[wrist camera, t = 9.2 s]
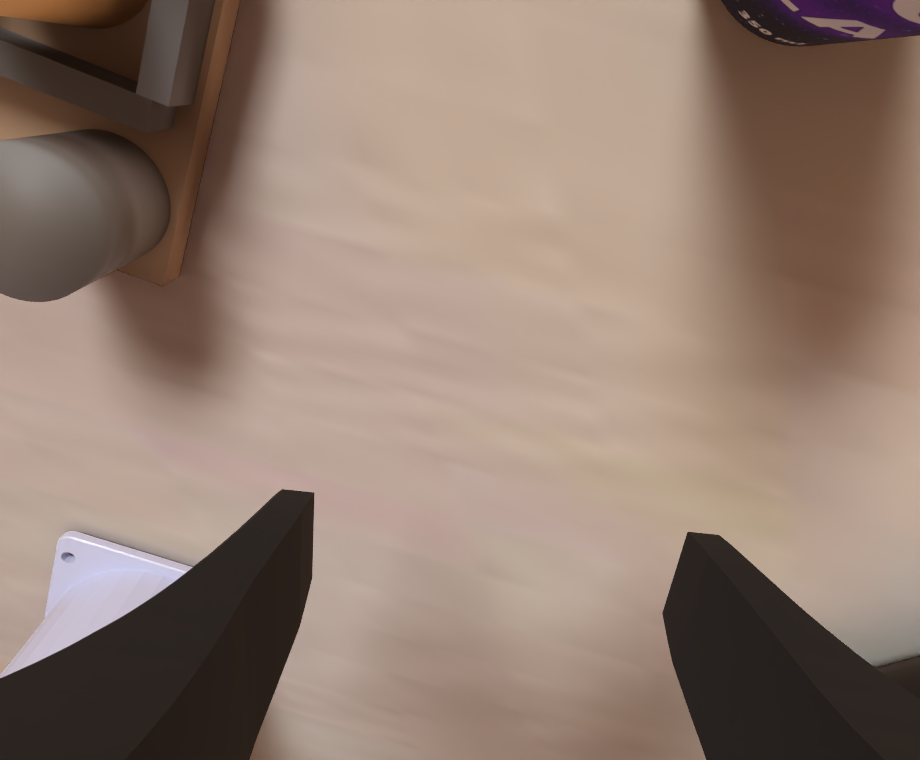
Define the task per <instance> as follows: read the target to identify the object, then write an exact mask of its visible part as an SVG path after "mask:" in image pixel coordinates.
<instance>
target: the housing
mask: <svg viewBox="0 0 920 760" xmlns="http://www.w3.org/2000/svg"><path fill="white" fill-rule="evenodd" d="M239 3H240V0H148V1H147V2H146V4H145V5H144V7H143V8H142V9H141V10H140V11H139V12H138V13H137V14H136V15H135V16H134V17H133V18H131V19H130V20H129V21H127V22H125V23H123V24H121V25H118V26H114V27H110V28H88V27H80V26H73V25H65V24H57V23H50V22H42V21H35V20H27V19H20V18H12V17H4V16H0V293H1V294H4V295H6V296H9V297H12V298H15V299H19V300H24V301H31V302H45V301H52V300H57V299H60V298H63V297H65V296H67V295H69V294H71V293H73V292H75V291H77V290H79V289H81V288H82V287H84V286H86V285H88V284H90V283H92V282H94V281H96V280H97V279H99V278H101V277H103V276H105V275H107V274H109V273H111V272H112V271H114V270H118V271H121V272H124V273H127V274H129V275H132V276H135V277H138V278H140V279H143V280H146V281H149V282H151V283H154V284H157V285H160V286H162V287H163V286H165V285H166V284H168V283H169V282H171V281H172V280H174V279H175V278H177V277H178V276H179V274H180V270H181V265H182V261H183V256H184V252H185V247H186V243H187V238H188V234H189V229H190V225H191V220H192V216H193V211H194V207H195V202H196V198H197V193H198V189H199V184H200V180H201V175H202V171H203V166H204V162H205V157H206V152H207V148H208V143H209V139H210V134H211V130H212V125H213V121H214V116H215V112H216V107H217V103H218V98H219V94H220V89H221V85H222V80H223V76H224V71H225V67H226V62H227V58H228V53H229V49H230V44H231V40H232V35H233V31H234V26H235V21H236V17H237V12H238V8H239Z"/></svg>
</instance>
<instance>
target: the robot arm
mask: <svg viewBox="0 0 920 760" xmlns="http://www.w3.org/2000/svg"><path fill="white" fill-rule="evenodd" d="M313 520H314V493H312V492H302V491H293V490H283V489H282V490H281V491H279V492H278V493H277V494H276V495H274V496H273V497H272V498H271V499H270V500H269V501H268V502H267V503H266V504H265V505H264V506H263V507H262V508H261V509H260V510H259V511H258V512H257V513H255V514H254V515H253V516H252V517H251V518H250V519H249V520H248V521H247V522H246V523H245V524H244V525H242V526H241V527H240V528H239V529H238V530H237V531H236V532H235V533H234V534H232V535H231V536H230V537H229V538H228V539H227V540H225V541H224V542H223V543H222V544H221V545H220V546H218V547H217V548H216V549H215V550H214V551H213V552H211V553H210V554H209V555H208V556H207V557H205V558H204V559H203V560H202V561H200V562H199V563H198V564H196V565H195V566H194V567H190V566H187V565H184V564H181V563H177V562H174V561H171V560H168V559H164V558H161V557H158V556H155V555H151V554H148V553H145V552H142V551H138V550H135V549H132V548H129V547H125V546H122V545H119V544H116V543H112V542H109V541H106V540H103V539H99V538H96V537H93V536H89V535H86V534H83V533H80V532H76V531H68V532H66V533H64V534H63V535H62V536H61V537H60V539H59V540H58V542H57V547H56V552H55V558H54V564H53V570H52V576H51V581H50V587H49V593H48V599H47V605H46V610H45V616H44V621H43V622H42V623H41V624H40V626H39V627H38V628H37V629H36V631H35V632H34V633H33V634H32V636H31V637H30V638H29V639H28V641H27V642H26V643H25V644H24V646H23V647H22V648H21V649H20V651H19V652H18V653H17V655H16V656H15V657H14V658H13V660H12V661H11V662H10V663H9V665H8V666H7V667H6V668H5V670H4V671H3V672H2V673H1V675H0V760H249V759H250V756H251V753H252V750H253V747H254V744H255V741H256V739H257V736H258V733H259V730H260V728H261V725H262V723H263V720H264V718H265V715H266V712H267V710H268V707H269V705H270V702H271V700H272V697H273V694H274V692H275V689H276V687H277V684H278V682H279V679H280V676H281V674H282V671H283V669H284V666H285V664H286V661H287V658H288V656H289V653H290V650H291V648H292V645H293V643H294V640H295V637H296V635H297V632H298V629H299V627H300V623H301V619H302V615H303V612H304V608H305V604H306V600H307V596H308V592H309V588H310V584H311V580H312V559H313ZM68 552H69V553H71V554H73V555H74V556H72V555H70V554H69V553H68ZM663 618H664V623H665V629H666V634H667V639H668V644H669V648H670V653H671V657H672V662H673V665H674V668H675V671H676V674H677V677H678V680H679V683H680V686H681V689H682V692H683V695H684V697H685V700H686V703H687V706H688V709H689V712H690V715H691V717H692V720H693V723H694V726H695V729H696V731H697V734H698V737H699V740H700V743H701V746H702V748H703V751H704V754H705V757H706V760H920V699H919V698H917V697H916V696H914V695H913V694H911V693H910V692H908V691H907V690H906V689H904V688H903V687H901V686H900V685H899V684H897V683H896V682H894V681H893V680H891V679H890V678H889V677H887V676H886V675H884V674H883V673H882V672H880V671H879V670H877V669H876V668H875V667H873V666H872V665H871V664H869V663H868V662H867V661H865V660H864V659H863V658H861V657H860V656H859V655H857V654H856V653H855V652H854V651H852V650H851V649H850V648H849V647H847V646H846V645H845V644H844V643H842V642H841V641H840V640H839V639H837V638H836V637H835V636H834V635H833V634H831V633H830V632H829V631H828V630H826V629H825V628H824V627H823V626H822V625H820V624H819V623H818V622H817V621H816V620H814V619H813V618H812V617H811V616H810V615H809V614H807V613H806V612H805V611H804V610H803V609H802V608H801V607H799V606H798V605H797V604H796V603H795V602H794V601H793V600H791V599H790V598H789V597H788V596H787V595H786V594H785V593H784V592H783V591H781V590H780V589H779V588H778V587H777V586H776V585H775V584H774V583H773V582H771V581H770V580H769V579H768V578H767V577H766V576H765V575H764V574H763V573H762V572H760V571H759V570H758V569H757V568H756V567H755V566H754V565H753V564H752V563H751V562H750V561H748V560H747V559H746V558H745V557H744V556H743V555H742V554H741V553H740V552H738V551H737V550H736V549H735V548H734V547H733V546H732V545H730V544H729V543H728V542H727V541H726V540H724V539H723V538H722V537H721V536H719V535H713V534H703V533H694V532H688V533H687V536H686V539H685V542H684V545H683V549H682V552H681V555H680V558H679V562H678V565H677V568H676V571H675V575H674V578H673V581H672V584H671V587H670V591H669V594H668V597H667V600H666V604H665V607H664V610H663Z"/></svg>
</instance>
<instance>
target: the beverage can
mask: <svg viewBox="0 0 920 760" xmlns="http://www.w3.org/2000/svg"><path fill="white" fill-rule="evenodd" d="M722 2H723V3H724V5H725V6H726V8H727V9H728V10H729V12H730V13H731V14H732V15H733V16H734V18H735V19H736V20H737V21H738V22H739V23H741V24H742V25H743V26H744V27H745V28H747V29H748V30H749V31H751V32H752V33H754V34H756V35H757V36H759V37H762V38H764V39H766V40H769V41H771V42H775V43H778V44H783V45H789V46H813V45H823V44H834V43H844V42H854V41H865V40H875V39H886V38H896V37H906V36H917V35H920V0H722Z"/></svg>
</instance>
